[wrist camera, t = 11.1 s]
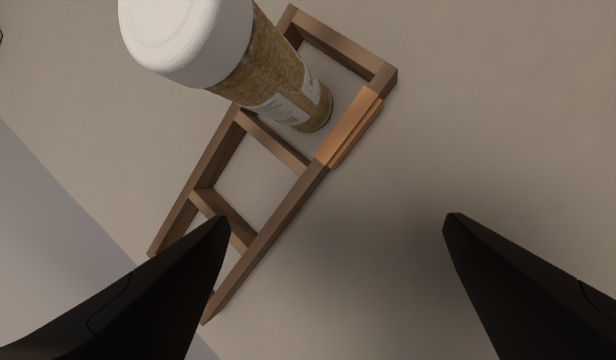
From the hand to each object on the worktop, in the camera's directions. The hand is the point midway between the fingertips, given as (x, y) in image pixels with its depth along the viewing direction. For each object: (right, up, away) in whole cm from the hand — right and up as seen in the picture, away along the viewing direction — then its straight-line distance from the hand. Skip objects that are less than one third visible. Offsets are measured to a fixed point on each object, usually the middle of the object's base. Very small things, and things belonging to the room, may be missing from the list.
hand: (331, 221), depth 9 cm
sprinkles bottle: (-1, +8, +10) cm, 13 cm away
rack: (-6, +1, +12) cm, 14 cm away
